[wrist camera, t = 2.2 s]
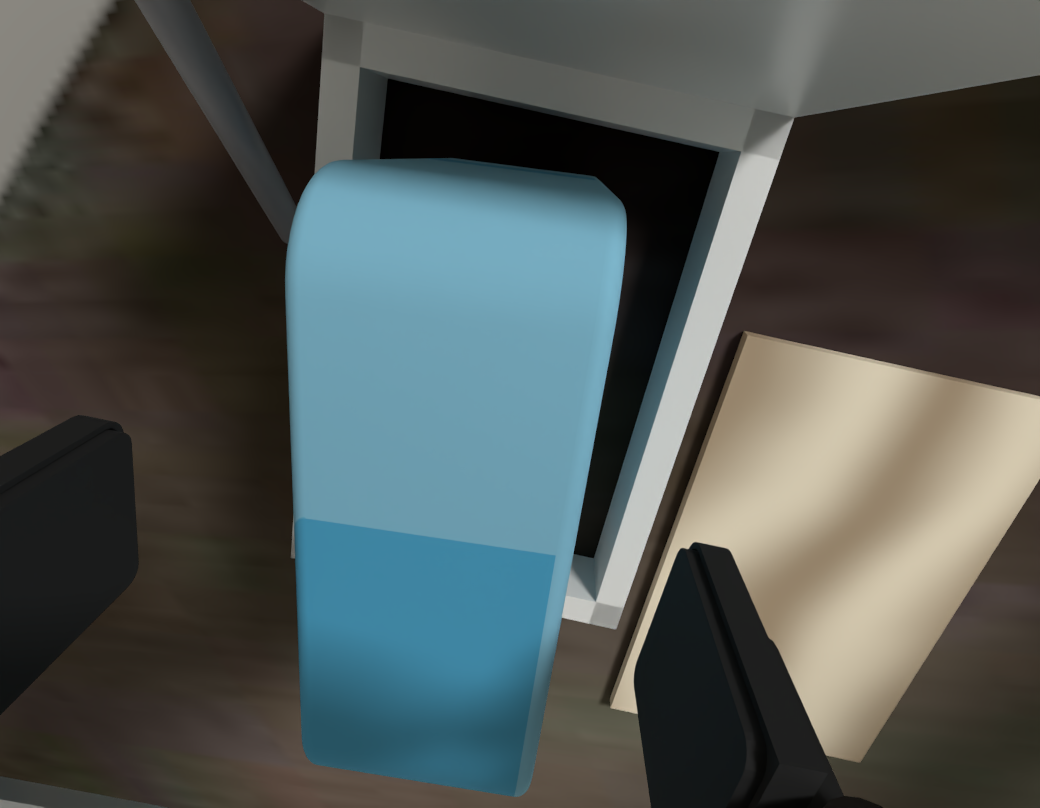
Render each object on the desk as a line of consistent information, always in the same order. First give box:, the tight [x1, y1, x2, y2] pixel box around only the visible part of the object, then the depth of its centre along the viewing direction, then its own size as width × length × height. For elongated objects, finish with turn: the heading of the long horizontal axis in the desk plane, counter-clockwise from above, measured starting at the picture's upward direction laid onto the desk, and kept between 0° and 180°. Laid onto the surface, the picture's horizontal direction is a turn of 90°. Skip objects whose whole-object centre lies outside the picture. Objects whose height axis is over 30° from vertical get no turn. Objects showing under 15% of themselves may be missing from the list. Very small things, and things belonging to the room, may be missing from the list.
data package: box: [285, 158, 627, 797], centre depth 15 cm, size 12×4×12 cm, turn 173°
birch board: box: [610, 331, 1040, 763], centre depth 23 cm, size 11×17×1 cm, turn 168°
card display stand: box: [135, 0, 1040, 629], centre depth 14 cm, size 13×18×14 cm
